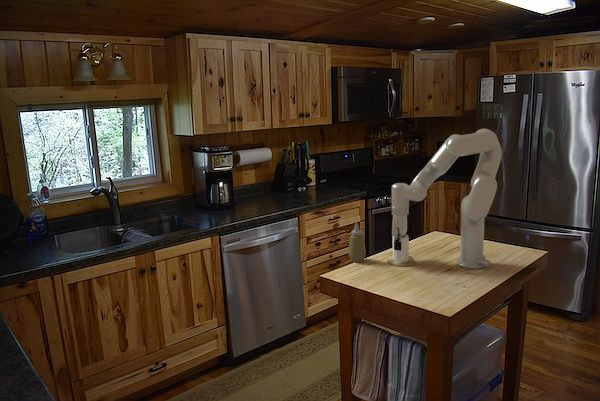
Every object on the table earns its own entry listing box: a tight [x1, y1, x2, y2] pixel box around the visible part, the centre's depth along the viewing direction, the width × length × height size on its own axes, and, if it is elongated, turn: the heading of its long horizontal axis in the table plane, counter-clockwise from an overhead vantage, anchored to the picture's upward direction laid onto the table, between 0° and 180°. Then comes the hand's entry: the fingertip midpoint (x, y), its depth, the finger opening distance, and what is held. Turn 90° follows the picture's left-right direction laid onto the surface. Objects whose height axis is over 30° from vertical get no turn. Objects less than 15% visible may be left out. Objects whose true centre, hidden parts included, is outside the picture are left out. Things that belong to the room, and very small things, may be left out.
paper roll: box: [391, 234, 410, 262], centre depth 220 cm, size 7×7×11 cm
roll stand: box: [386, 255, 415, 268], centre depth 220 cm, size 12×12×10 cm
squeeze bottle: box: [348, 222, 367, 263], centre depth 225 cm, size 8×8×18 cm
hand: (400, 246), depth 220 cm, fingers open, 9 cm apart
